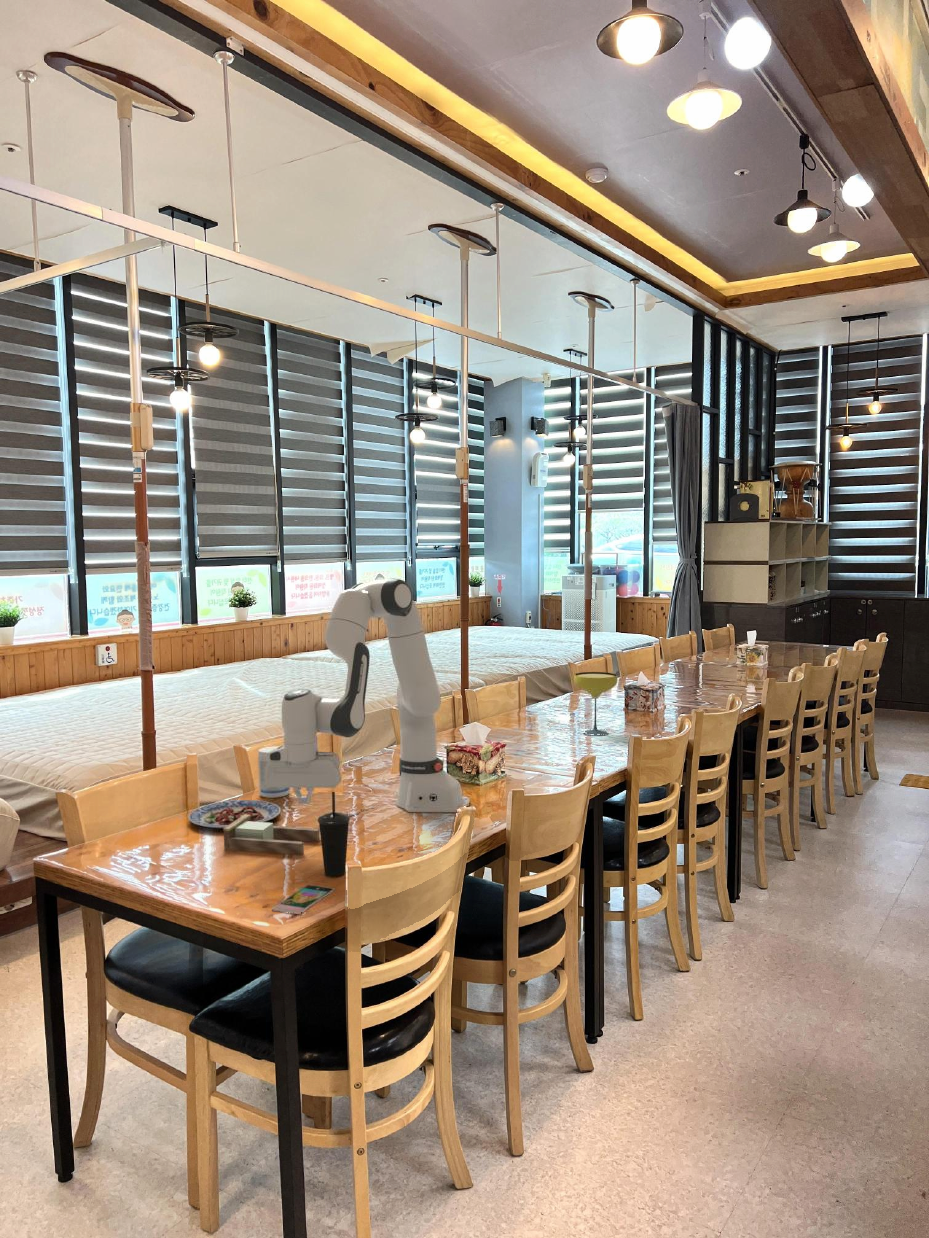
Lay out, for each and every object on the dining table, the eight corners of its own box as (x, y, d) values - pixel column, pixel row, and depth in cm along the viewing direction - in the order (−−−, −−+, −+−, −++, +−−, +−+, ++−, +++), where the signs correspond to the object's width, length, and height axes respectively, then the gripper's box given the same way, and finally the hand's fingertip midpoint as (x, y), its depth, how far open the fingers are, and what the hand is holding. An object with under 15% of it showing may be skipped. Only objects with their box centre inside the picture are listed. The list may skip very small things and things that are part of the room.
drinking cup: (320, 868, 211) (318, 788, 209) (351, 867, 211) (350, 787, 210) (317, 880, 203) (315, 797, 201) (350, 879, 204) (348, 796, 202)
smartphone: (335, 888, 198) (299, 913, 184) (335, 891, 198) (299, 916, 184) (307, 884, 200) (271, 908, 186) (308, 887, 200) (271, 911, 186)
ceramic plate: (282, 805, 265) (282, 795, 265) (278, 831, 239) (278, 821, 239) (195, 809, 261) (195, 799, 260) (181, 836, 235) (181, 825, 235)
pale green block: (274, 840, 232) (273, 822, 231) (263, 849, 225) (262, 830, 225) (246, 838, 233) (246, 820, 233) (234, 846, 227) (234, 828, 227)
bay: (319, 839, 232) (319, 819, 231) (301, 855, 220) (300, 833, 219) (245, 834, 236) (245, 814, 236) (224, 849, 224) (223, 828, 224)
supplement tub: (294, 795, 274) (293, 750, 273) (265, 800, 269) (264, 754, 268) (282, 788, 282) (282, 744, 281) (254, 793, 277) (253, 748, 276)
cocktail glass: (593, 727, 378) (594, 670, 376) (625, 733, 364) (626, 675, 362) (564, 732, 367) (565, 674, 365) (597, 739, 353) (597, 679, 351)
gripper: (342, 748, 227) (345, 799, 229) (270, 748, 231) (273, 798, 233) (334, 754, 221) (337, 807, 222) (260, 754, 225) (263, 806, 226)
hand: (304, 803), depth 228 cm, fingers closed
